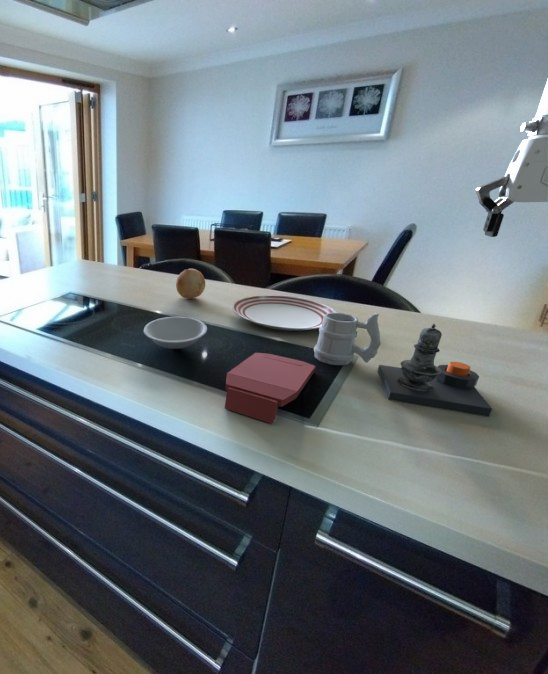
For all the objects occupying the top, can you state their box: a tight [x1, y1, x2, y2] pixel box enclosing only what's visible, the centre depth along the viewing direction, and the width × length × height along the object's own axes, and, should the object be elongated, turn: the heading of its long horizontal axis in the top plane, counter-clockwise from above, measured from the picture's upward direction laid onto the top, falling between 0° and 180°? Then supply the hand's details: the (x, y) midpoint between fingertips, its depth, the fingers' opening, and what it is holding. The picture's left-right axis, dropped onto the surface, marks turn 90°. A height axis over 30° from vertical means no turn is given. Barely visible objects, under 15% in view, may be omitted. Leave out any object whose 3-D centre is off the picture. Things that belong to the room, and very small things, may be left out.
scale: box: [376, 364, 493, 418], centre depth 72 cm, size 14×12×4 cm
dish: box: [143, 316, 208, 350], centre depth 94 cm, size 18×14×5 cm
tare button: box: [446, 361, 471, 376], centre depth 72 cm, size 3×3×2 cm
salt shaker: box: [397, 323, 443, 391], centre depth 70 cm, size 6×6×12 cm
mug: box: [313, 312, 382, 366], centre depth 83 cm, size 8×12×12 cm, turn 47°
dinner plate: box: [231, 294, 338, 332], centre depth 110 cm, size 27×27×3 cm
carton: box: [224, 352, 316, 424], centre depth 76 cm, size 12×5×25 cm
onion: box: [175, 268, 206, 300], centre depth 131 cm, size 10×10×10 cm
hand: (525, 236), depth 69 cm, fingers open, 9 cm apart
